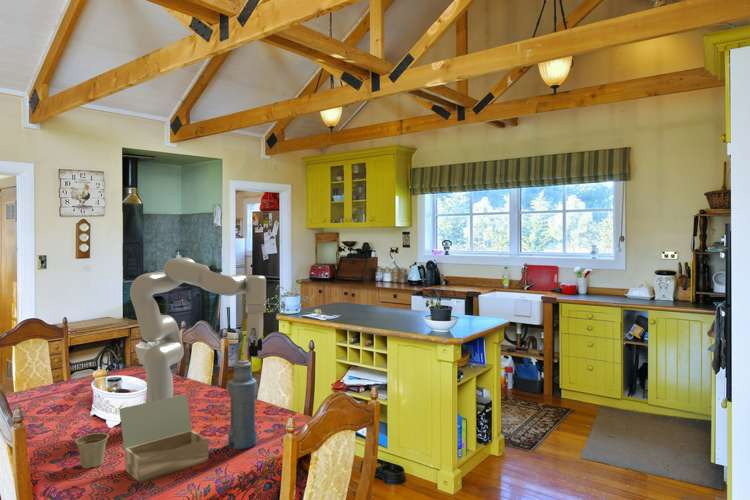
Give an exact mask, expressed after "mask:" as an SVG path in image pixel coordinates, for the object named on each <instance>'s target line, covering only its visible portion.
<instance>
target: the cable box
mask: <svg viewBox="0 0 750 500" xmlns="http://www.w3.org/2000/svg"><path fill="white" fill-rule="evenodd" d="M209 460H210V459H209V439H208V438H207V437H205V436H202V435H201V434H200V433H198V432H196V431H195V430H193V429H192V430H190V431H187V432H183V433H180V434H176V435H172V436H169V437H165V438H161V439H158V440H154V441H150V442H147V443H143V444H140V445H136V446H132V447H129V448H125V449H124V463H125V464H124V466H125V467H124V468H125V472H127V474H128V475H130V476H131V478H133V479H134V480H136V482H137V483H139V484H141V483H145V482H147V481H150V480H154V479H157V478H160V477H163V476H165V475H166V476H167V475H169V474H172V473H175V472H178V471H181V470H184V469H188V468H190V467H194V466H197V465H200V464H203V463H205V462H209Z"/></svg>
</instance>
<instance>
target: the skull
mask: <svg viewBox="0 0 750 500" xmlns="http://www.w3.org/2000/svg"><path fill="white" fill-rule="evenodd" d="M158 344H160V342H159V341H156V342H146V341H139V342H138V344H135V346H134V348H135V354H136V357H137V359H138V363H139V365H142V369H143V370H145V365H144V355H145V353H146V352H147V350H148V349H150V348H151V347H153V346H155V345H158Z"/></svg>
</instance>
